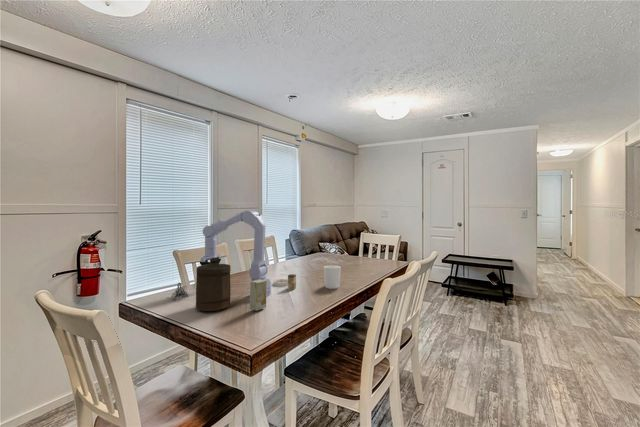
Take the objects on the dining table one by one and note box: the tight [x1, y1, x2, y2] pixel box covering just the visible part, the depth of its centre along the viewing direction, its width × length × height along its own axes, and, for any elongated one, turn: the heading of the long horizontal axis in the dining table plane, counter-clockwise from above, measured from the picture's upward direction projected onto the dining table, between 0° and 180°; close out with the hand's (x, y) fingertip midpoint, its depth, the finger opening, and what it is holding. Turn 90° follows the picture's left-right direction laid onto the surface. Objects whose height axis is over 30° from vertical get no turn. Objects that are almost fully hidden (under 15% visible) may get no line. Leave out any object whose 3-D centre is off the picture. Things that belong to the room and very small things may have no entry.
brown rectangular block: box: [287, 273, 297, 291], centre depth 163 cm, size 4×4×8 cm
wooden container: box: [195, 258, 231, 312], centre depth 134 cm, size 15×15×22 cm
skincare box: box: [249, 279, 267, 311], centre depth 131 cm, size 6×4×12 cm
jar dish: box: [272, 278, 288, 287], centre depth 173 cm, size 9×9×2 cm
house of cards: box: [165, 282, 189, 301], centre depth 149 cm, size 9×9×8 cm
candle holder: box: [323, 264, 342, 290], centre depth 167 cm, size 10×10×12 cm
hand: (210, 273), depth 158 cm, fingers open, 7 cm apart
